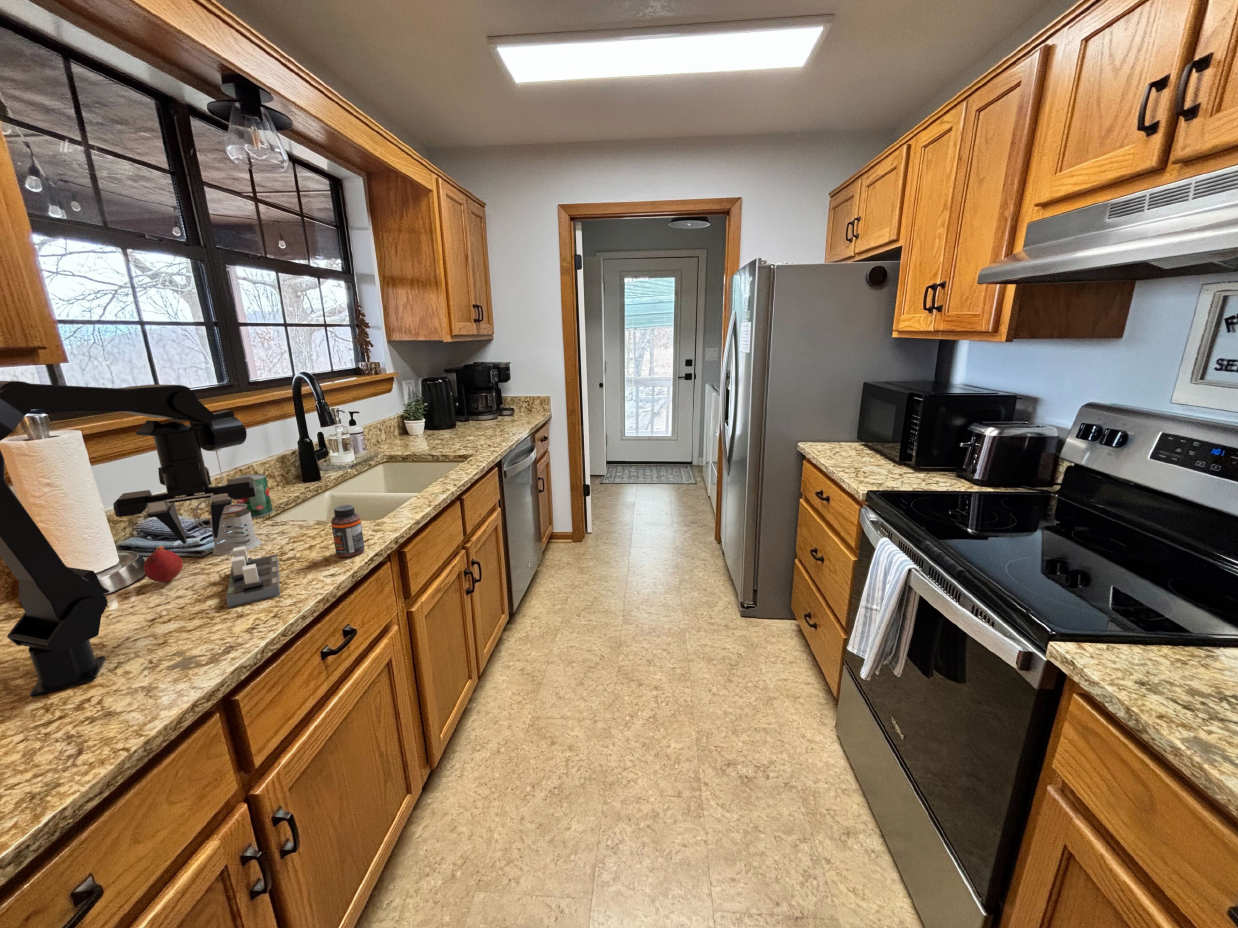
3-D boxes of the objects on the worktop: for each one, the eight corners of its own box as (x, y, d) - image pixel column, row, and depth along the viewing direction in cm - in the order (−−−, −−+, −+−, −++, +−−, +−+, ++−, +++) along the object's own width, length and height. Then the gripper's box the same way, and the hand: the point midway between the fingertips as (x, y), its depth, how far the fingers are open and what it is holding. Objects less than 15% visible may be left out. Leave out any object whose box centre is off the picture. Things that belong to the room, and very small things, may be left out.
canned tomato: (279, 509, 145) (272, 473, 143) (257, 519, 138) (249, 481, 135) (255, 508, 146) (248, 473, 144) (232, 518, 139) (224, 480, 136)
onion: (163, 590, 98) (153, 553, 96) (140, 588, 99) (130, 551, 97) (193, 577, 104) (184, 542, 102) (171, 575, 105) (162, 540, 103)
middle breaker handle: (250, 575, 99) (246, 559, 98) (231, 579, 97) (227, 563, 96) (250, 570, 101) (247, 554, 100) (232, 574, 100) (228, 557, 99)
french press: (255, 550, 117) (233, 447, 111) (194, 559, 113) (168, 452, 106) (266, 536, 126) (247, 439, 119) (211, 543, 121) (188, 444, 115)
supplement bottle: (330, 555, 114) (322, 509, 111) (354, 546, 119) (347, 501, 116) (347, 560, 111) (339, 513, 108) (370, 550, 116) (364, 505, 113)
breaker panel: (279, 595, 96) (278, 585, 96) (228, 607, 92) (226, 597, 91) (278, 562, 110) (276, 553, 110) (233, 571, 106) (231, 562, 106)
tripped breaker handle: (262, 584, 95) (258, 567, 94) (242, 589, 94) (239, 571, 93) (262, 578, 98) (258, 562, 97) (243, 583, 96) (239, 566, 95)
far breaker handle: (251, 565, 104) (247, 549, 103) (233, 568, 102) (229, 552, 101) (251, 560, 106) (248, 544, 105) (234, 563, 105) (230, 547, 104)
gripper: (248, 442, 97) (263, 517, 101) (118, 456, 87) (140, 538, 91) (246, 452, 89) (263, 533, 92) (101, 469, 78) (126, 559, 82)
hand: (200, 540), depth 90 cm, fingers open, 4 cm apart
